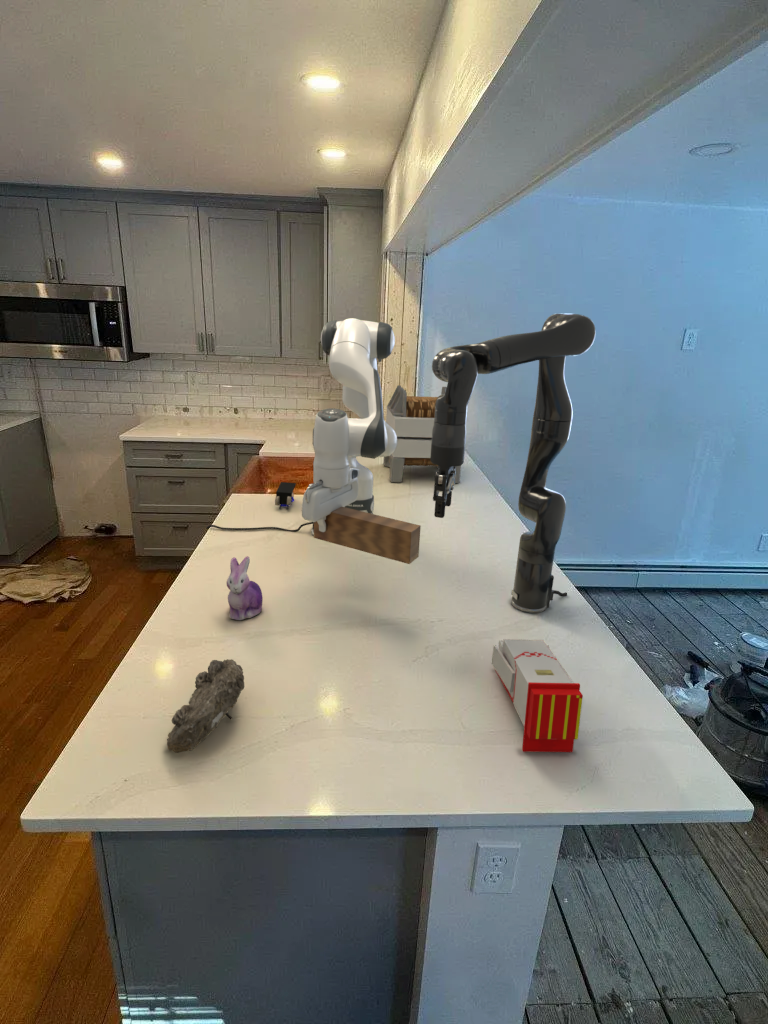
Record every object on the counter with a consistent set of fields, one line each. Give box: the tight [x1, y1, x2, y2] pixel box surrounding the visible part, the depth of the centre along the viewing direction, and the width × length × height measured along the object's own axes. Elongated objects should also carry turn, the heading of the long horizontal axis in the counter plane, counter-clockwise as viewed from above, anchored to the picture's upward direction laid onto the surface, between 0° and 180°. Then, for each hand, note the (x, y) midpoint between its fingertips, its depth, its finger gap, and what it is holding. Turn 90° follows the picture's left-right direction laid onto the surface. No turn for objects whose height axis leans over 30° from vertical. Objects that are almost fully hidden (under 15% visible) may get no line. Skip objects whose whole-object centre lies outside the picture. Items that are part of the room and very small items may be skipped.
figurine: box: [226, 555, 264, 621], centre depth 142 cm, size 9×10×15 cm
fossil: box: [166, 658, 245, 754], centre depth 106 cm, size 22×10×15 cm
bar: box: [313, 507, 422, 565], centre depth 141 cm, size 28×5×8 cm, turn 61°
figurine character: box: [274, 481, 297, 510], centre depth 222 cm, size 7×8×15 cm
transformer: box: [383, 384, 462, 484], centre depth 268 cm, size 34×33×41 cm
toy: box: [491, 638, 584, 753], centre depth 114 cm, size 12×13×30 cm
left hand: (330, 526), depth 146 cm, fingers closed on bar, 5 cm apart
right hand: (442, 511), depth 131 cm, fingers open, 8 cm apart
